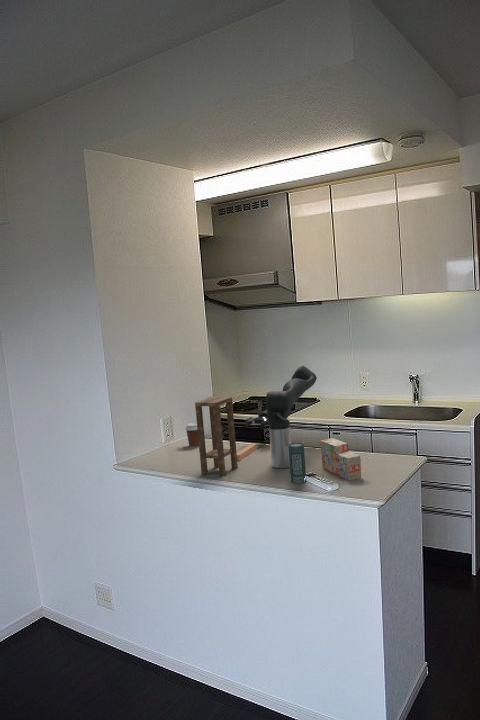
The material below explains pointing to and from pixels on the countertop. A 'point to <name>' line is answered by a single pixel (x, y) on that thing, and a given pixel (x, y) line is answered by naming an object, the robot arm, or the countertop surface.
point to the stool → (216, 434)
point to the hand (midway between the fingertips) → (253, 424)
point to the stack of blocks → (340, 459)
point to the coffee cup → (192, 435)
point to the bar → (246, 451)
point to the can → (297, 462)
